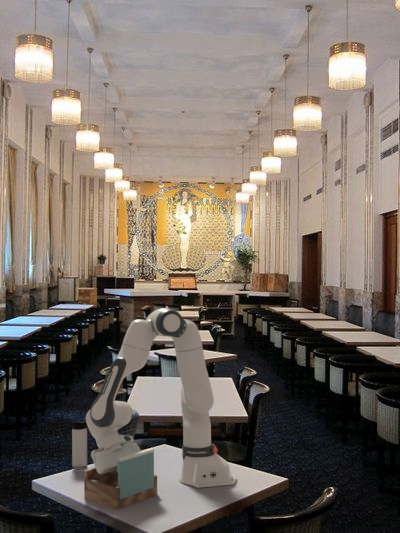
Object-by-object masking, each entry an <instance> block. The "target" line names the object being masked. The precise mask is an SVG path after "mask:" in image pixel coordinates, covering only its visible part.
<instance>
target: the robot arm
mask: <svg viewBox="0 0 400 533" xmlns="http://www.w3.org/2000/svg"><path fill="white" fill-rule="evenodd" d="M158 336H160V337H170V338H171V339H172V341H173V343H174V350H175V351H174V352H175V358H176V364H177V368H178V369H177V370H178V373H179V377H180V381H181V385H182V386H181V389H180V403H181V404H180V405H181V416H182V424H183V426H182V427H183V433H182V434H183V436H182V437H183V440H182V442H183V444H182V448H181V457H182V467H181V473H180V477H179V482H180V483H182V484H184V485H188V486H190V487H191V486H192V487H194V488H198V489H199V488H210V487H211V488H212V487H222V486H231V485H235V483H237V477H236V474H235V473H234V472H232V471H231V468H230V464H229V463H228V461H227V460H225V459H224V458H223V457H221V456H220V455H219V454H218V451H219V449H218V448H217V446H216V445H215V444H214V443H212V434H211V433H212V432H211V431H212V423H211V420H210V411H211V409H212V408H213V406H214V402H215V398H214V394H213V388H212V385H211V381H210V377H209V373H208V372H209V371H208V370H207V364H206V360H205V359H206V358H205V355H204V354H205V353H204V348H203V342H202V338H201V335H200V331H199V328H198V326H197V324H196V323H195V322H193V321H192V320H185V319H184V317H183V316H182V315H181V314H180V312H178V311H177V310H176V309H173V308H168V307H162V308H156V309H154V310H152V311H150V312H149V314H147V315H146V316H145V317H144V318H142V319H141V318H139V319H134V320H133V321H131V323H130V325H129V326H128V328H127V330H126V333H125V335H124V338H123V341H122V344H121V347H120V350H119V352H118V354H117V356H116V358H115V359H114V360H113V362H112V363H111V365H110V367H109V368H108V372H107V374H106V375H105V378H104V381H103V383H102V386H101V388H100V390H99V393H98V396H97V397H96V399H95V400H94V402H92V405H91V406H90V409H89V410H88V411H87V413H86V415H85V421H86V423H87V429H88V431H89V433H90V434H91V436H92V437H93V438H94V439H95V441H96V445H97V447H98V448H97V449H94V450H92V451H91V453H90V458H91V460H92V461H93V464H94V467H95V468H96V470H97V472H98V473H99V474H105V473H108V472H111V471H114V470H116V471H117V472H118V458H120V457H123V456H127V455H130V454H134V453H137V452H141V451H142V450H141V448H140V447H139V445H138V444H137V443H136V442H134V440H133V438H132V436H125V435H119V434H118V432H117V430H118V429H120V428H122V427H124V426H125V425H127V424H128V423H129V422H130V420H131V418H132V409H131V408H132V407H131V405H130V404H129V402H123V401H114V400H115V397H116V395H117V392H118V390H119V389H120V386H121V384H122V382H123V381H124V379H125V378H126V377H127V376H129V375H130V374H132V373H134V372H137V371H140V370H141V369H142V368H144V367H145V365H146V363H147V361H148V359H149V356H150V352H151V348H152V344H153V343H154V340H155V339H156V338H157V337H158Z"/></svg>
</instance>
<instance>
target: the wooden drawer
mask: <svg viewBox="0 0 400 533" xmlns="http://www.w3.org/2000/svg"><path fill="white" fill-rule="evenodd" d="M83 472H84V477H83V478H84V480H83V483H84V487H83V488H84V491H83V493H84V494H83V495H84V499H85V498H86V499H87V500H90V501H92V502H95V503H98V504H100V505H102V506H105V507H108V508H110V509H113V510H114V511H115V510H116V511H117V510H119V509H121V508H124V507H127V506H130V505H132V504H136V503H138V502H140V501H144V500H146V499H149V498H151V497H154V495H155V496H158V475H156V474H154V488H151V489H148V490H145V491H143V492H140V493H137V494H134V495H131V496H128V497H125V498H123V499H119V488H118V472H117V471H116V470H114V471H111V472H108V473H105V474H99V473H98V472H97V470H96V468H95V466H94V467H91V468H87V469H84V471H83Z"/></svg>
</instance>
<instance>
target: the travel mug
mask: <svg viewBox="0 0 400 533" xmlns="http://www.w3.org/2000/svg"><path fill="white" fill-rule="evenodd" d="M71 422H72V425H71V426H72V427H71V428H72V429H71V435H72V436H71V438H72V439H71V441H72V442H71V447H72V448H71V449H72V451H71V453H72V454H71V461H72V462H71V465H72V469H74V470H82V469H85V468H87V467H88V426H87V423H86V420H85V421H82V420H73V421H71Z"/></svg>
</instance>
